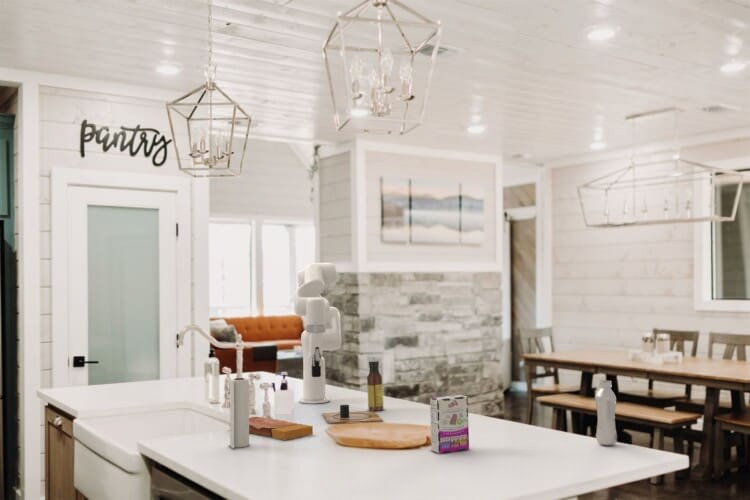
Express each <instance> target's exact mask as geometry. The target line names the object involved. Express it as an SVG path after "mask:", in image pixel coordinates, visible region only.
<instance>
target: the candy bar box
mask: <svg viewBox="0 0 750 500" xmlns="http://www.w3.org/2000/svg"><path fill="white" fill-rule="evenodd" d="M468 402H469V401H468V396H467V395H462V394H455V395H454V394H453V395H445V396H435V397H429V409H430V441H431V442H430V443H431V444H430V445H431V452H433V453H437V454H440V455H441V454H448V453H455V452H461V451H468V450H470V433H469V432H470V431H469V430H470V429H469V403H468Z"/></svg>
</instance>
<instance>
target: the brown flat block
mask: <svg viewBox="0 0 750 500" xmlns="http://www.w3.org/2000/svg"><path fill="white" fill-rule="evenodd" d="M313 428H314V426H313V425H309V424H303V423H297V422H292V421H287V420H279V419H273V418H270V417H261V416H252V417H249V434H253V435H257V436H262V437H269V438H273V439H278V440H283V441H287V440H292V439H296V438H300V437H305V436H310V435H313V434H314V433H313V432H314V430H313Z"/></svg>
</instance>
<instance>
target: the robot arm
mask: <svg viewBox="0 0 750 500" xmlns="http://www.w3.org/2000/svg"><path fill="white" fill-rule="evenodd" d="M338 276H339V272H338V267H337V266H336V264H335V263H333V262H312V263H308V264H307V265H306V266H305V267H304V268H303V269H300V270H299V272H298V273H297V283H298V288H297V289H296V290H295V292H294V295H293V311H294V314H295V315H297V316H299V317H303V321H304V324H305V327H306V329H305V330H303V332H301V335H300V337H301V338H300V341H301V348H302V361H303V362H302V364H303V365H302V367H303V368H302V369H303V372H302V373H303V376H302V377H303V378H302V379H303V380H302V381H303V382H302V383H303V397H301V398H300V399H299V403H301V404H311V405H313V404H314V405H315V404H317V405H318V404H324V403H328V402H329V401H330V398H329V397H326V360H325V358H324V356H323V351H324V352H325V351H338V350H339V349H341V346H342V325H341V323H342V322H341V314H340V311H339V309H338V308H337V307H335V306H330V302H329V300H328V299H327V298H326V297H323V296H322V295H321V294H322V293H323V292H324V290H325V288H330V287H331V288H333V287H334V286H335V285H336V284H337V282H338V281H337V280H338ZM312 365H313V377H312Z"/></svg>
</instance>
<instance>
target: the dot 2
mask: <svg viewBox="0 0 750 500" xmlns="http://www.w3.org/2000/svg"><path fill="white" fill-rule="evenodd" d="M339 412H340V418H349V412H350V405H349V404H340V405H339Z"/></svg>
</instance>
